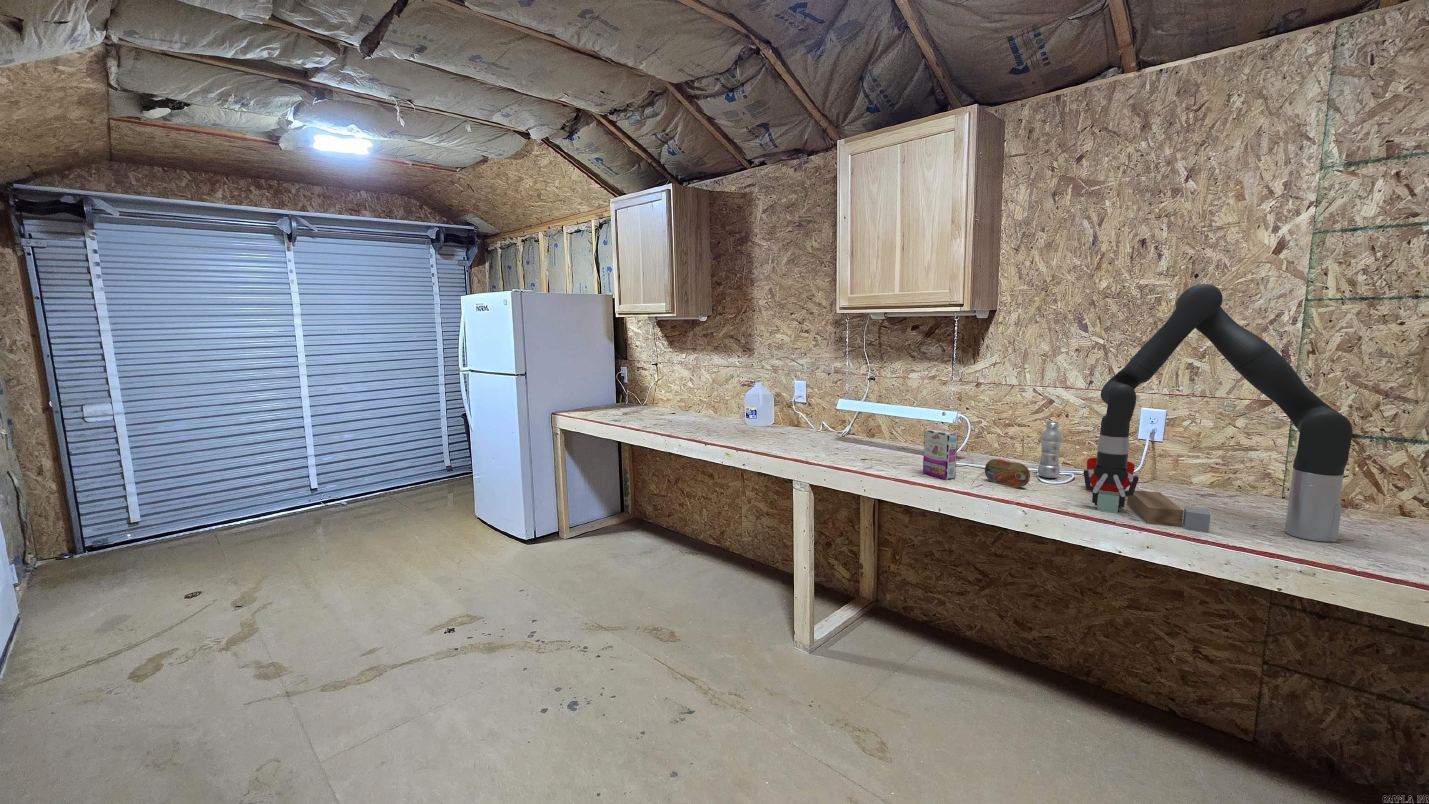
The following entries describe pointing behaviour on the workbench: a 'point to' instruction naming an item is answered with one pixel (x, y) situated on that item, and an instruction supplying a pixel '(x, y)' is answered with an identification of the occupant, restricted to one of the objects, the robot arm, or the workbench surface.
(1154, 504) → the walnut block
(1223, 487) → the workbench surface
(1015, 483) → the tin
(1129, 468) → the ceramic cup
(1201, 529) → the slate cube
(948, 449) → the candy bar box
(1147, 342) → the robot arm
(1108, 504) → the green cube
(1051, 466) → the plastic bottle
